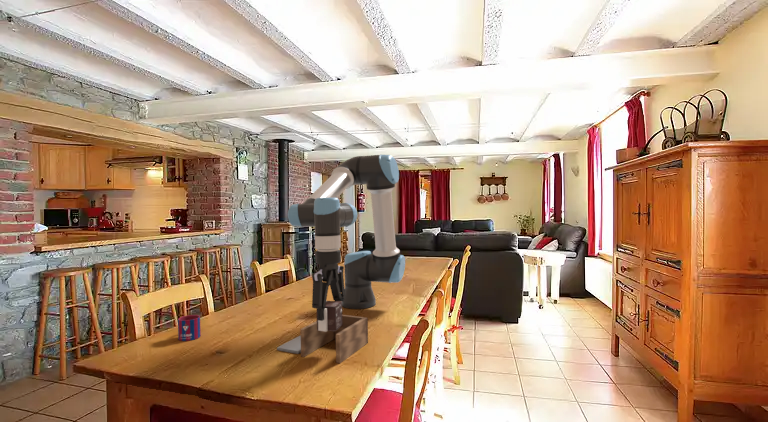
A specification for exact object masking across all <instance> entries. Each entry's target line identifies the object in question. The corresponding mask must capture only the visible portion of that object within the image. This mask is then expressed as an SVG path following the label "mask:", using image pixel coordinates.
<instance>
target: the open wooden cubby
mask: <svg viewBox="0 0 768 422" xmlns="http://www.w3.org/2000/svg"><path fill="white" fill-rule="evenodd" d="M368 320H369V319H368V317H365V316H356V315H350V314H349V315H347V314H342V326H341V327H340V328H339V329H338V330H337V331H326V332H325V331H318V330H317V320H316V321H314V322H312V323H310V324H308V325H306V326H303V327H302V328H300V335H301V353H300V357H303V358H305V357H307V356H308V355H310V354H311V353H312V354H313V352H314V351H316V350H318V349H319V348H322V347H323V346H325V345H326V344H327V343H330V342H331V341H333V340H335V363H336V364H342V363H343V362H345V360H347V359H348V358H349V357H351V356H352V355H354V354H355V353H357V352H358V351H359V350H360V349H362V348H363V347H364V346H366V345H367V344H369V325H368V323H369V321H368Z"/></svg>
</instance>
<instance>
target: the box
mask: <svg viewBox="0 0 768 422" xmlns="http://www.w3.org/2000/svg"><path fill="white" fill-rule="evenodd" d="M325 308H327V324H328V331H337V330H338V329H339V328H340V327H341V326H342V315H343V306H342V301H335V300H326V306H325ZM316 321H317V330H318V314H317V313H316Z"/></svg>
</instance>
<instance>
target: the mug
mask: <svg viewBox="0 0 768 422" xmlns="http://www.w3.org/2000/svg"><path fill="white" fill-rule="evenodd" d="M201 330H202V329H201V315H200V314H189V315H183V316H181V317H179V318H178V319H177V334H178V335H177V336H178V338H177V339H178V341H181V342H189V341H194V340H197V339H199V338H200V337H201V335H202V334H201Z"/></svg>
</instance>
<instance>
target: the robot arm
mask: <svg viewBox="0 0 768 422" xmlns="http://www.w3.org/2000/svg"><path fill="white" fill-rule="evenodd" d="M399 179H400V171H399V165H398V163H397V160H396V158H395V157H394V156H393V155H391V154H374V155H373V154H372V155H358V156H353V157H350V158H349V159H346V160H345V161H343V162H342V163H340V164H338V165H337V166H336V167H335V168H334V169H333V170H332V172H331V176H329V177H328V179H326V180H325V181H324V182H323V183H322V184H321V185H320V186H319V187H318V188H317V189H315V190H314V192H313V193H312V194H311V195H310V196H309V197H307V198H306V200H305V201H304V202H303V203H295V204H291V205H290V206H289V208H288V211H287V220H288V223H290V225H291V226H292V227H300V228H306V227H308V228H312V227H313V228H314V248H315V252H314V255H315V256H314V257H315V263H316V264H317V265H318V270H317V272H313V273H312V274H311V279H312V296H311V297H312V298H311V300H312V301H311V307H312V309H316V315H317V314H318V331H325V332H326V331H328V324H327V308H325V306H326V301H327V297H328V292H329V287H330V292H331V295H332V299H333V300H332V301H342V308H345V309H351V310H352V309H355V310H357V309H358V310H361V309H368V308H372V307H375V306H376V303H377V301H376V295H375V293H374V290H373V287H372V283H373V282H375V283H389V284H391V283H397V284H398V283H400V282H401V281H402V279H403V277H404V273H405V268H406V257H405V256H404V255H403V254H401V250H400V249H399V248H398V247H397V243H396V230H395V217H394V205H393V193H392V192H393V190H394V189H395V188H396V184H398V183H399ZM356 185H365V186H366V190H367V191H368V192H369V193H370V199H371V209H372V212H371V213H372V220H373V232H374V242H375V243H374V244H375V248H374V250H373V251H370V250H361V251H354V252H350V253H347V254H346V255H345V256H344V263H343V265H344V266H343V265H339V264H340V263H341V261H342V251H341V250H340V249H341V248H342V243H341V241H342V240H341V228H344V227H345V228H346V227H349V226H352V225H353V224H355V223H356V221H357V219H358V211H357V208H356V206H354V205H353V204H351V203H349V202H342V203H340V199H339V197H340V196H341V194H342V193H344V192H345V190H348V189H350V188H351V187H352V186H356Z"/></svg>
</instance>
